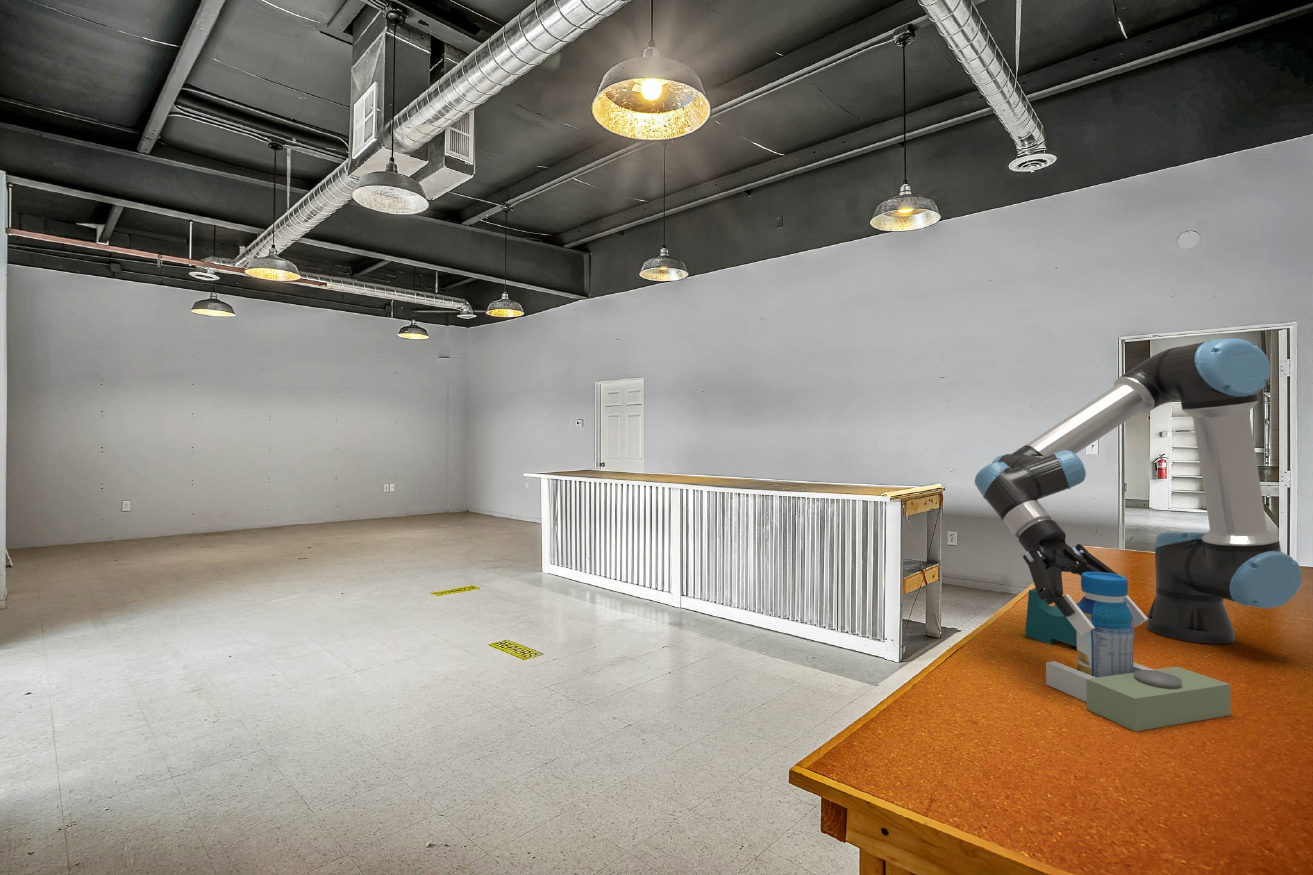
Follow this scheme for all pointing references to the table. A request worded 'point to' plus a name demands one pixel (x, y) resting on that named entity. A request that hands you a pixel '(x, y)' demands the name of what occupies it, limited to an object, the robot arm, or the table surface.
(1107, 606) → the blue capped bottle
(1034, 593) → the teal l-shaped bracket
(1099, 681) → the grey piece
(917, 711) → the table surface
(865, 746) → the table surface
